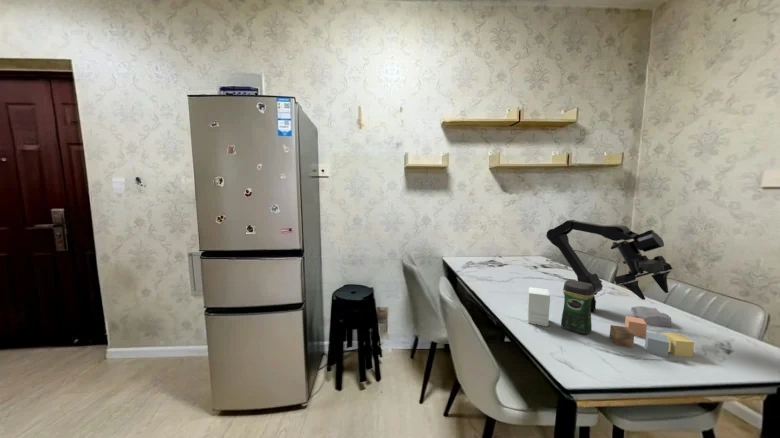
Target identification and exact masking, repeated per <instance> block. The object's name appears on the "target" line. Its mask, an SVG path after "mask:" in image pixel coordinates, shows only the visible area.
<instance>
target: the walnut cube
mask: <svg viewBox="0 0 780 438" xmlns="http://www.w3.org/2000/svg"><path fill="white" fill-rule="evenodd" d="M609 339H610V341H611V342H612V343H613V345H614V346H619V347H625V348H631V349H633V348H634V343H635V335H634V333H633V332H632V331H631V330H630V329H629V328H628V327H625V325H623V326H622V325H616V324H615V325H614V324H610V327H609Z"/></svg>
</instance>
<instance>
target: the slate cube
mask: <svg viewBox="0 0 780 438" xmlns="http://www.w3.org/2000/svg"><path fill="white" fill-rule="evenodd" d="M644 347H645V351H646V353H649V354H652V355H656V356H660V357H664V358H669V357H668V356H669V351H668V350H669V341H668V338H667V336H664V334H663V335H662V334H658V333H654V332H649V331H646V336H645V341H644Z"/></svg>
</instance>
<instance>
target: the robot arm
mask: <svg viewBox="0 0 780 438" xmlns="http://www.w3.org/2000/svg"><path fill="white" fill-rule="evenodd" d="M574 230H575V231H580V232H585V233H591V234H596V235H599V236H601V237H602V238H605V239H607V240H611V241H613V242H612V245H611V247H610V249H611V250H614V249H617V250H618V251H619V253H620V255H621V256H622V258H623V260H624V261H623V260H622V264H623V265H626V266H627V267H628V269H629V271H628V273H623V274H621V275H617V276H614V282H615V284H616V285H620V286H621V287H625V288H626V289H627V290H629V291H631V292H632V293H633V294H635V295H636V296H637V297H638V298H639V299H641V300H643V301H645V300H646V297H645V296H644V293H643V291H642V290H641V288H640V286H639V280H636V279H637V278H640V277H643V276H648V275H650V274H651V275H650V277H652V279H653V280H654V282H656V284H657V285H658V287H659V288H660V289H661V290H662V291H663V292H664V294H668V293H669V286H668V275H669V274H670V273H671V272H672V271H671V270H673V267H672V265H671V264H670V263H668V262H667V261H666V259H665V257H663V255H657V256H654V257H653V258H651V259H650V258H648V257H647V255H643V254H642V253H641V251H642V252H644V253H647V252H651V251H655V250H657V249H660V248H663V247H664V246H665V243H664V240H663V238H662V237H661V236H660V235H659V234H658V233H656V232H655V231H654V230H653V229H650V230H646V231H645V232H643V233H636V232H635V231H633V230H630V228H629V227H628V226H626V225H619V224H617V225H616V224H615V225H614V224H607V225H603V224H598V223H597V224H596V223H591V222H585V221H579V220H576V219H569V220H568V219H567V220H566V221H564V222H563V223H561V224H560V225H557V226H556V227H553V228H550V229H548V230H547V231H546V234H545V236H546V239H548V241H549V242H550V243H551V244H552V245H553V246H555V247H556V248H558V250H559V251H560V253H561V254H562V256H563V257H564V259H565V260H566V262H567V263H568V265H569V266H570V268H571V269H572V271H573V272H574V274H575V275H576V277H577V281H580V282H585V283H590V284H593V288H594V296H593V298H592V300H591V313H595V310H596V304H597V300H596V297H595V296H596V295H598V293H599V292H602V290H603V281H602V280H601V279H600V278H599V276H598V274H597V273H596V272H595V273H591V272H589V271H588V268H587V267H586V266H585V265H584V263H583V262H582V260H581V259H580V258H579V256H578V255H577V253H576V251H575V250H574V249H573V247H572V246H571V244H570V241H569V234H570V233H571V232H572V231H574ZM630 240H631V241H630ZM618 241H620V242H618Z"/></svg>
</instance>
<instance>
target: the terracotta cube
mask: <svg viewBox="0 0 780 438" xmlns="http://www.w3.org/2000/svg"><path fill="white" fill-rule="evenodd" d="M647 326H648V325H647V324H646V323H645V321H644V320H643V319H642V318H636V316H635V317H634V316H630V315H626V316H625V320H624V327H628V328H629V329H630V330H631V331H632V332H633V333H634V336H637V337H640V338H641V337H642V338H646V332H647Z"/></svg>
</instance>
